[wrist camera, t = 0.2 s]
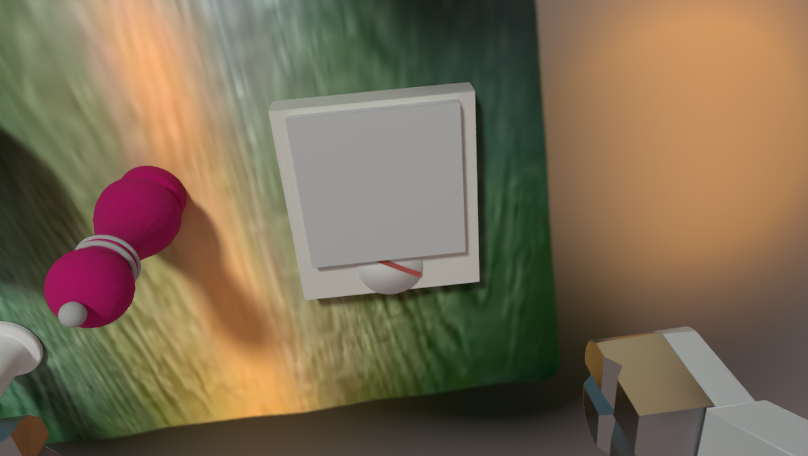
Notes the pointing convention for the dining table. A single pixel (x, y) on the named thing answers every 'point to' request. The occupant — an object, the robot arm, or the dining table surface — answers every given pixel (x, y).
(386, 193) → the kitchen scale
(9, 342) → the candle
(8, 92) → the dining table surface
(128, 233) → the pepper mill
